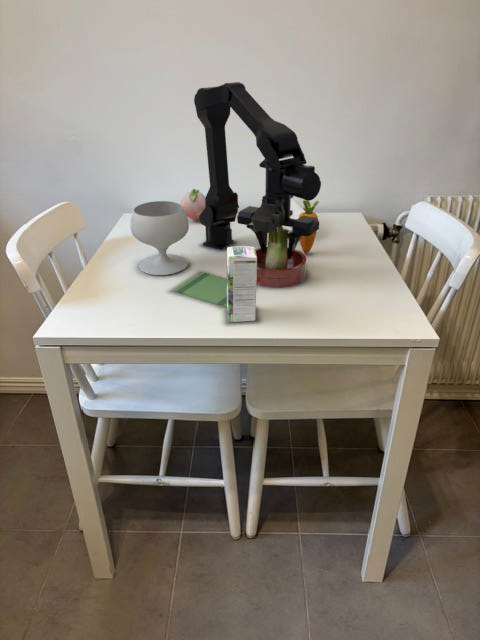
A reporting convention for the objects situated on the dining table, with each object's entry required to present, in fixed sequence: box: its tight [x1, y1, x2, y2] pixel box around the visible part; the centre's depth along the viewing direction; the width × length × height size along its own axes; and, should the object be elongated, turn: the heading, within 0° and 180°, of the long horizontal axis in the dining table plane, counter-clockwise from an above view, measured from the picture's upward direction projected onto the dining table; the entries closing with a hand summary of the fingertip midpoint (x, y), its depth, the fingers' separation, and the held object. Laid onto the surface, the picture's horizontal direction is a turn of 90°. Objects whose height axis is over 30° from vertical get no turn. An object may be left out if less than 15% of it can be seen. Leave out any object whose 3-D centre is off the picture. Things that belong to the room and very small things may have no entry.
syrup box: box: [226, 245, 257, 323], centre depth 98 cm, size 6×6×14 cm
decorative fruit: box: [180, 188, 206, 221], centre depth 148 cm, size 9×8×10 cm
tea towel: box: [172, 271, 227, 308], centre depth 112 cm, size 15×11×1 cm
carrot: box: [299, 199, 320, 255], centre depth 124 cm, size 5×5×15 cm
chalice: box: [130, 200, 190, 276], centre depth 119 cm, size 14×14×15 cm
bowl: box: [255, 246, 307, 288], centre depth 117 cm, size 15×15×4 cm
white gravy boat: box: [277, 198, 305, 233], centre depth 144 cm, size 24×12×7 cm, turn 10°
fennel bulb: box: [265, 227, 289, 270], centre depth 115 cm, size 6×5×12 cm
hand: (276, 255), depth 115 cm, fingers closed on fennel bulb, 7 cm apart
